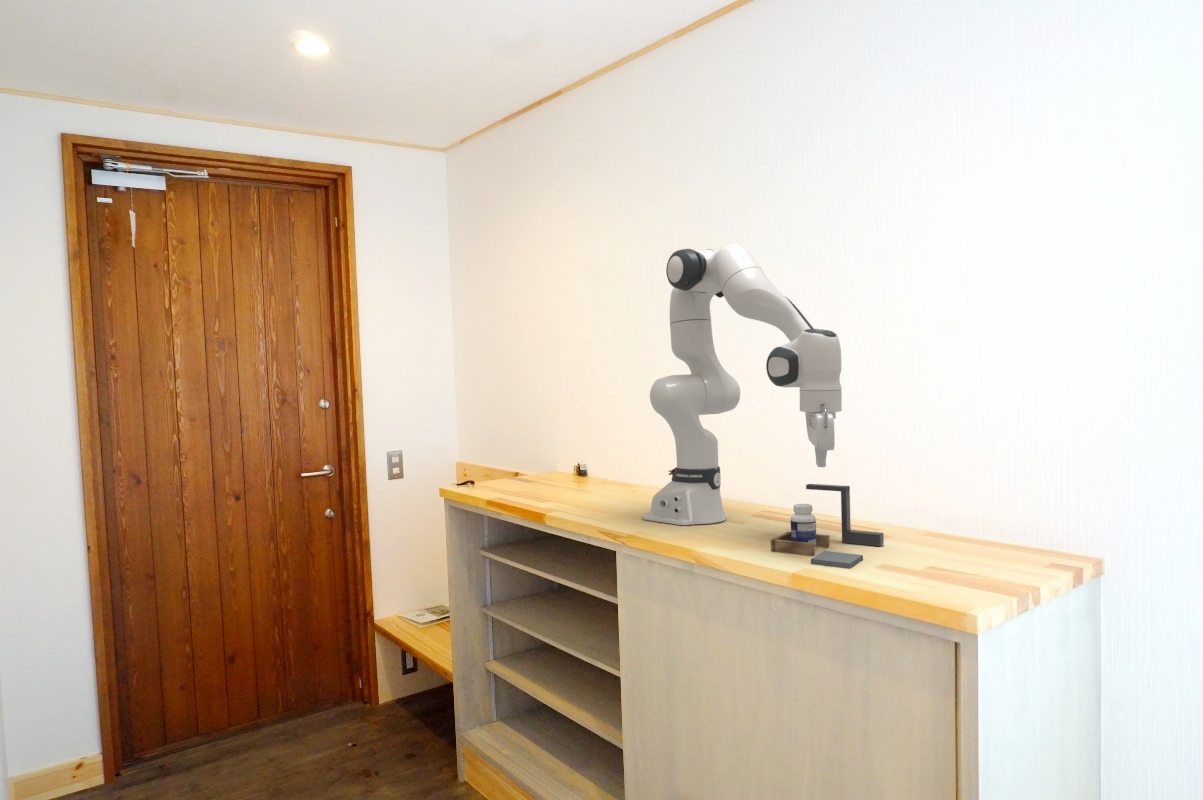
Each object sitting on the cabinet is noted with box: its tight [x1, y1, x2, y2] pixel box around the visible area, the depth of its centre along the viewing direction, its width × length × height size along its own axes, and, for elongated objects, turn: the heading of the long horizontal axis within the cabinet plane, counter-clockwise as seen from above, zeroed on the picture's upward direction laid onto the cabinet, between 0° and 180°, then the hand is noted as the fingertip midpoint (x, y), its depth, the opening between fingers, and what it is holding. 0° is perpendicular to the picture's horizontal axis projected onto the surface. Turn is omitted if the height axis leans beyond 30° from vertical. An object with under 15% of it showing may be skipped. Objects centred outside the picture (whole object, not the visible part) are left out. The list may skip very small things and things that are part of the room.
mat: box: [810, 550, 864, 569], centre depth 159 cm, size 8×8×1 cm
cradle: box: [770, 531, 831, 557], centre depth 172 cm, size 10×10×2 cm
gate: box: [805, 483, 885, 547], centre depth 177 cm, size 17×2×12 cm, turn 54°
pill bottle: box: [790, 503, 817, 551], centre depth 171 cm, size 5×5×10 cm
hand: (820, 466), depth 171 cm, fingers closed
